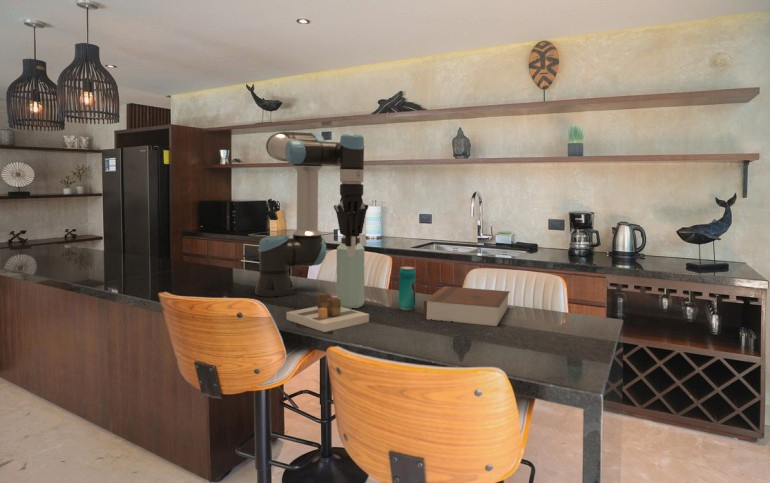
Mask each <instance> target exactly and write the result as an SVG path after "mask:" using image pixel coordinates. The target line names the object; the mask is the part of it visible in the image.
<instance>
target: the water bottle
mask: <svg viewBox="0 0 770 483" xmlns="http://www.w3.org/2000/svg"><path fill="white" fill-rule="evenodd" d="M340 240H341V243H340V244H339V245H338V246H337V247H336V298H337V299H341V307H344V308H348V309H351V310H353V309H352V308H354V309H359V308H361V307H363V305H364V304H365V247H364V246H363V245H362V243H361V237H359V236H357V245H356V250H355V257H350V256H347V246H346V245H345V236H344V237H341V239H340Z"/></svg>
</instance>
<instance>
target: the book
mask: <svg viewBox="0 0 770 483" xmlns="http://www.w3.org/2000/svg"><path fill="white" fill-rule="evenodd" d="M510 292H511V291H508V290H495V289H481V288H470V287H458V286H443V287H442V288H440V289H439V290H437V291H436V292H434V293H433V294H431V295H430V296H429V297H427V298H426V299H424V300H423V315H422V316H423V320H431V319H432V321H441V320H442V321H443V322H451V321H453V322H454V323H462V324H472V325H480V326H481V325H482V326H483V325H484V326H492V327H497V326H498V325H499V322H500V321H501V320H502V318H503V316H504V314H505V313H506V312H507V310H508V308H509V294H510ZM453 322H452V323H453Z"/></svg>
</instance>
